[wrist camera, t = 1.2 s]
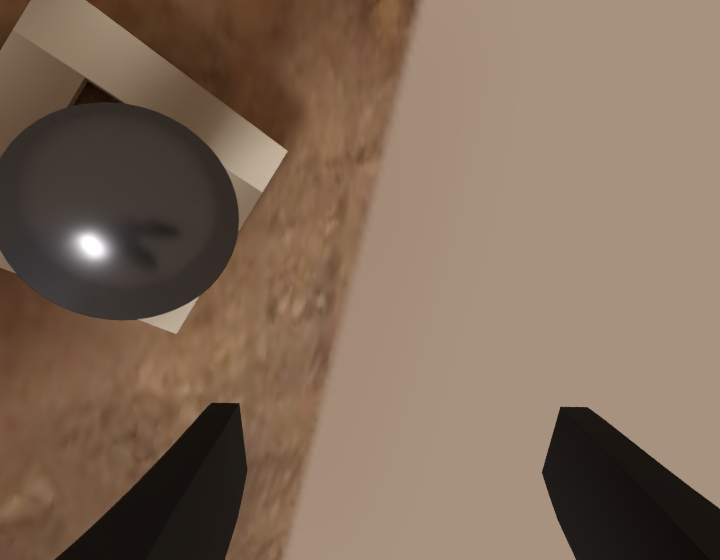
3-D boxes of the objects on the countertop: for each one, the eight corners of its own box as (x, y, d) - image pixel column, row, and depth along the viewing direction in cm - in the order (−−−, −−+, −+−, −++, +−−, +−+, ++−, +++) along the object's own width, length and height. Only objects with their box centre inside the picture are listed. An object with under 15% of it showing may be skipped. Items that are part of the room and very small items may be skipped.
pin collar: (-86, 217, 13) (-108, 227, 12) (54, -13, 13) (48, -28, 12) (171, 319, 18) (176, 334, 17) (274, 149, 18) (287, 151, 17)
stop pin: (21, 197, 14) (-64, 262, 7) (89, 86, 14) (67, 47, 7) (149, 256, 17) (176, 348, 10) (207, 162, 17) (274, 186, 10)
